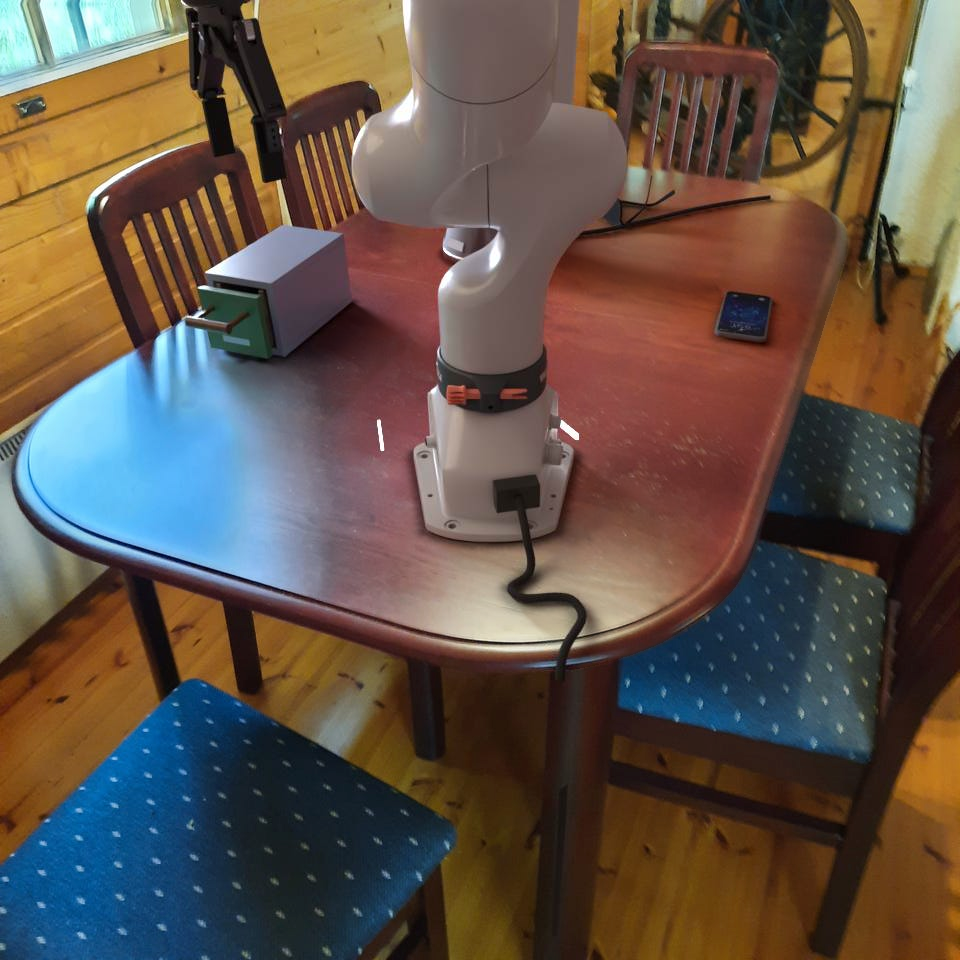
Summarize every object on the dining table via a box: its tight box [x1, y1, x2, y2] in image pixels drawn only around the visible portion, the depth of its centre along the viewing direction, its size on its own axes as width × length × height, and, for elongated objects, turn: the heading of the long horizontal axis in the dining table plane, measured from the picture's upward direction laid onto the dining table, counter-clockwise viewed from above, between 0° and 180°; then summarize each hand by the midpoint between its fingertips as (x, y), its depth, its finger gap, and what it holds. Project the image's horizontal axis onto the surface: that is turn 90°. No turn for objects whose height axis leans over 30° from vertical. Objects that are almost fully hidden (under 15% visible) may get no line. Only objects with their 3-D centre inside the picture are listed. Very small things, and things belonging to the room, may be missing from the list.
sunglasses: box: [602, 175, 676, 226], centre depth 165 cm, size 17×14×5 cm
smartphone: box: [714, 290, 774, 343], centre depth 128 cm, size 7×1×15 cm
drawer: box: [184, 282, 276, 359], centre depth 123 cm, size 24×10×9 cm, turn 157°
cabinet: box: [204, 224, 353, 358], centre depth 127 cm, size 20×11×11 cm, turn 157°
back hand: (248, 167), depth 103 cm, fingers open, 13 cm apart
